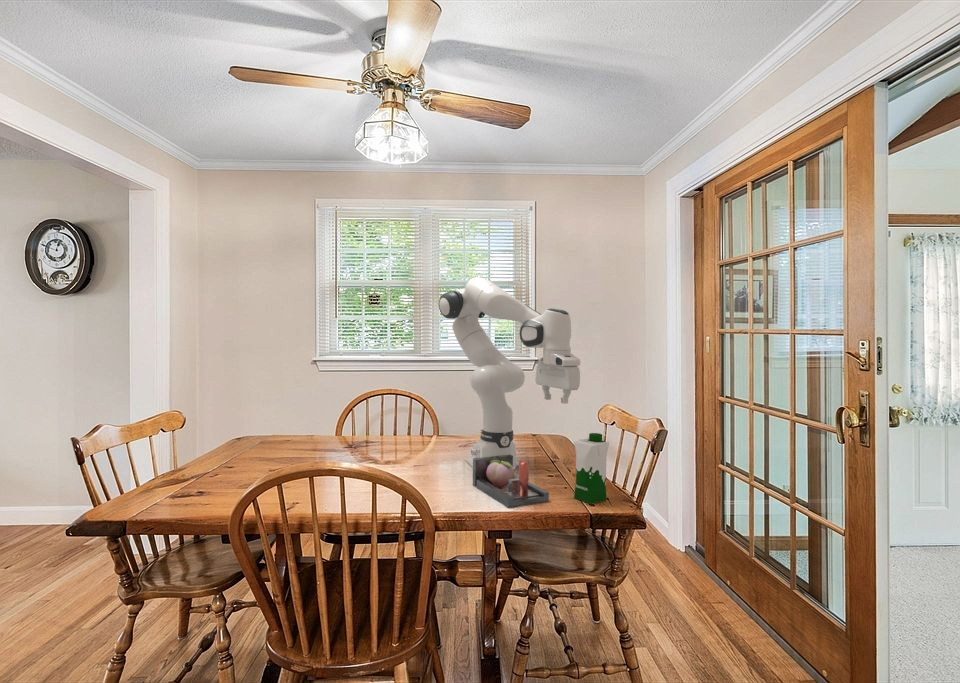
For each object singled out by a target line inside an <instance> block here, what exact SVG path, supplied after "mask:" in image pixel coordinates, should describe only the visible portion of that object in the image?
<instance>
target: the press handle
mask: <svg viewBox="0 0 960 683" xmlns="http://www.w3.org/2000/svg"><path fill="white" fill-rule="evenodd" d="M518 462H519V465H518V477H519V478H514V479H509V485H507V487H508V492H506V493H507V494H508V495H510V496H512V497H514V500H517V499H524V498H530V497H537V496H540V495H539V494H538V493H536V492H534V491H532V490H530V489H528V482H529V468H530V467H529V466H530V465H529V462H528V461H525V460H524V461H523V460H522V461H518Z"/></svg>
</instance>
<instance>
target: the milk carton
mask: <svg viewBox="0 0 960 683" xmlns="http://www.w3.org/2000/svg"><path fill="white" fill-rule="evenodd" d="M609 443H610V441H605V440H603V433H600V432H599V433H598V432H590V433H589V434H588V438H584V439H581V438H580V439H578V440H574V441H573V444H574V450H575V456H576V457H575V486H574V494H573V499H576V500H578V501H580V500H581V502H583V501H584V502H583V503H586V502H587V503H586V504H589V503H590V505H593V503H594V504H597V502H598V503H600V502H604V501H607V455H608V450H609Z"/></svg>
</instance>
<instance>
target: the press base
mask: <svg viewBox="0 0 960 683" xmlns="http://www.w3.org/2000/svg"><path fill="white" fill-rule="evenodd" d="M500 458H501V461H505V462H509V463H510V464H511V465H512V467H513V456H512V455H501V456H491V457H482V458H473V468H472V486H473V487H475V488H477V489H478V490H479V491H481V492H483V493H484V494H486V495H487V496H489V497H491V499H493V500H495V501H497V502H498V503H500V504H501V505H503V506H504V507H506V508H508V509H510V508H515V507H522V506H528V505H533V504H541V503H546V502H550V501H549V499H550V492H549V491H547V490H545V489H543V488H541V487H540V486H538V485H536V484H533V483H531V482H529V481H528V489H530V490H532V491H534V492H536V493H538V494H539V495H540V496H537V497H530V498H524V499H517V500H514V497H512V496H510V495H508V494H507V492H505V491H503V490H502V489H501V488H498V487H496V486H495V485H493V484H492V483H491V482H490V481H489V479H488V477H487V474H486V471H487V468H488V466H489V465H490V464H491V463H490V462H491V461H493V460H499V461H500ZM489 463H490V464H489ZM514 478H519V475H516V474H514V477H513V479H514Z"/></svg>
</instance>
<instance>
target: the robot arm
mask: <svg viewBox="0 0 960 683" xmlns="http://www.w3.org/2000/svg"><path fill="white" fill-rule="evenodd" d="M438 309H439V312H440V315H442V317H443V318H446V319H447V320H450V319H451V320H453V322H452V325H451V326H452V330H453V334H454V336H455V338H456V341H457V343H458V344H459V346H460V348H461V349H462V351H463V353H464V354H465V356H466V357H467V359H468V360H469V362H470V364H473V365H474V366H476V367H477V368H475V369H474V370H473V371H472V373H471V376H470V386H471V388H472V390H473V391H474V392H475V393H476V394H477V395H478V397H479V400H480V403H481V406H482V429H480V439H479V440H478V441H477V442H476V443H475V444H474V445H473V446H472V448H471V450H470V455H471V456H468V457H466V458H465V462H466V463H467V464H468V465H469V466H470V467H471V468H472V469H473V458H482V457H491V456H501V455H512V456H513V469H514V470H516V468H517V467H519V462H520V461H517V448H516V444H515V442H514V430H513V408H512V407H511V406H509V404H508V402H507V399H506V396H505V395H506V393H512V392H514V391H517V390H518V389H520V388H522V386H524V383H525V381H526V380H525V377H526V375H525V373H524V370H523V369H522V368H521V367H520V366H518V365H516V364H515V363H514V362H512V361H511V360H510V359H508V358H507V357H506V356H505V355H504V354H503V353H502V352H501V351H500V350H499V349H498V347H496V346H495V345H494V343H493V341H492V340H491V339H490V337H489V336H488V335H487V333H486V331H485V330H484V328H483V327H482V326H481V324H480V322H479V319H482V318H484V317H485V315H486V316H487V317H490V318H494V319H498V320H507V321H514V322H518V323H521V326H520V328H519V339H520V342H521V343H522V345H523V346H525V347H529V348H532V349H533V348H535V349H536V348H539V349H540V348H542V349H543V350H542V357H541V358H540V359H539V360H538V363H537V365H536V369H535V370H536V371H535V379H534V380H535V384H536V385H539V386H541V388H542V392H543V397H544V400H547V401H549V400H552V394H551V392H550V389H551V388H555V389H560V390H562V397H560V403H561V404H569V397H570V396H571V393H572V391H578V389H579V388H580V386H581V385H580V383H581V370H580V367H579V366H581V359H580V358H578V357H577V356H575V355H574V354H573V353H572V352H571V350H572V349H571V345H570V344H571V343H570V342H571V338H572V321H571V320H572V319H571V317H570V313H569V312H567V311H566V310H563V309H559V308H547V309H545V311H544V312H543V313H540V312H538V311H537V310H535V309H533V308H532V307H530V306H529V305H527V304H525V303H523V302H522V301H520V300H518V299H517V298H515V297H514V296H512V295H511V294H509V293H508V292H507V291H505V290H504V289H503V288H501V287H500V286H499V285H497V284H495V283H494V282H492V281H490V280H488V279H487V278H483V277H480V276H475V277H473V278H471V279H469V280H468V281H467V283H466V285H465V287H463V288H459V289H455V290H449V291H447V292H444V293H443V294H441V295H440V298H439V300H438Z"/></svg>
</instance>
